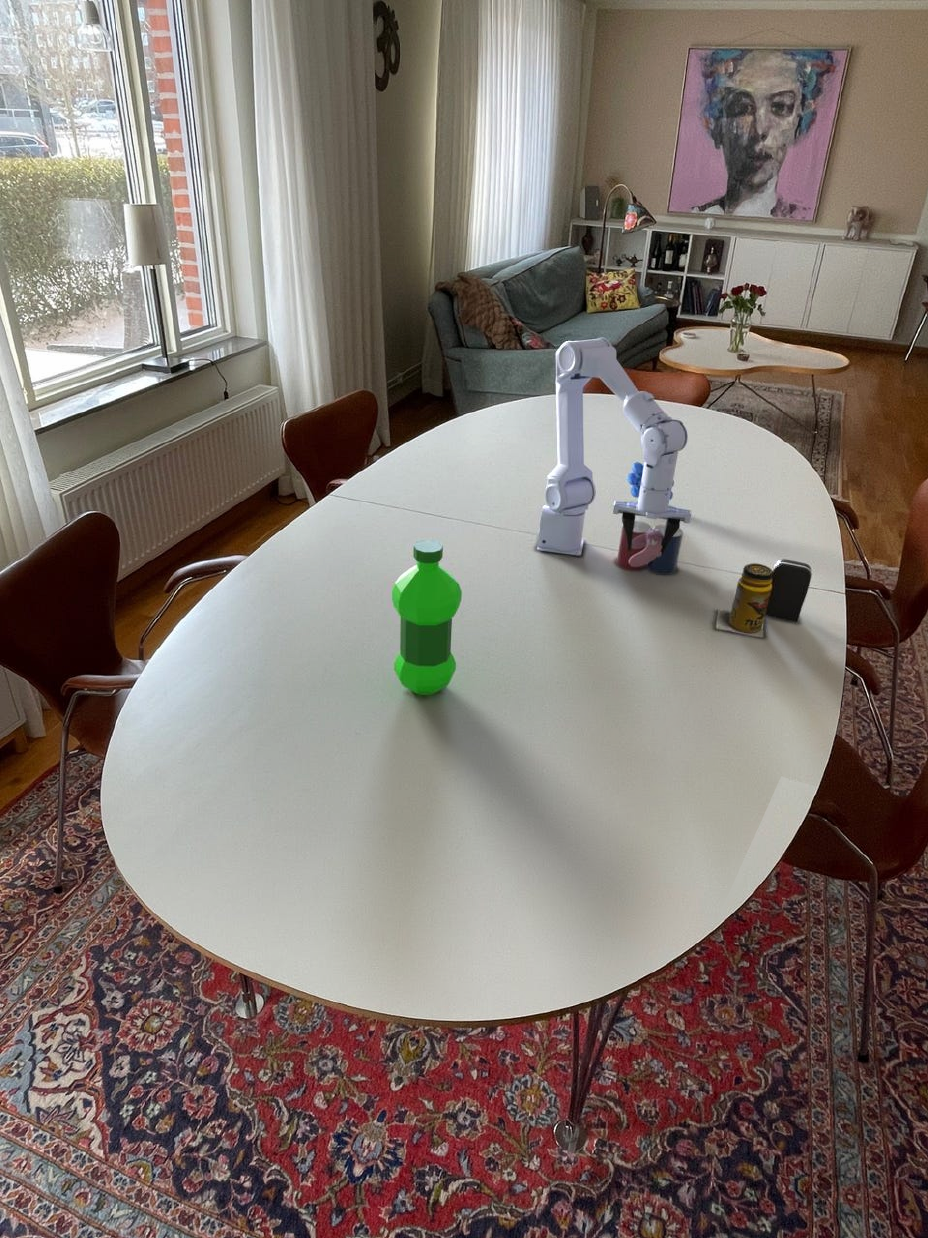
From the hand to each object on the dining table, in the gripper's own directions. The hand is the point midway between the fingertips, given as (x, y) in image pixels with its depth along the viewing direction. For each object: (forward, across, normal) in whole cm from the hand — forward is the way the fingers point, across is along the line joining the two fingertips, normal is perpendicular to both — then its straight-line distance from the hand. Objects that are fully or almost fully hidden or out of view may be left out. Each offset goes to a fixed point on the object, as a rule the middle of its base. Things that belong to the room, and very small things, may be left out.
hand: (645, 551), depth 163 cm
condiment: (+9, +19, -8) cm, 23 cm away
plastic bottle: (+9, -33, -44) cm, 56 cm away
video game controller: (+2, 0, 0) cm, 2 cm away
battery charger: (+9, +27, -2) cm, 29 cm away
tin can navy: (+9, +4, +12) cm, 15 cm away
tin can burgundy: (+9, -2, +12) cm, 15 cm away
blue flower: (+9, 0, +45) cm, 46 cm away
